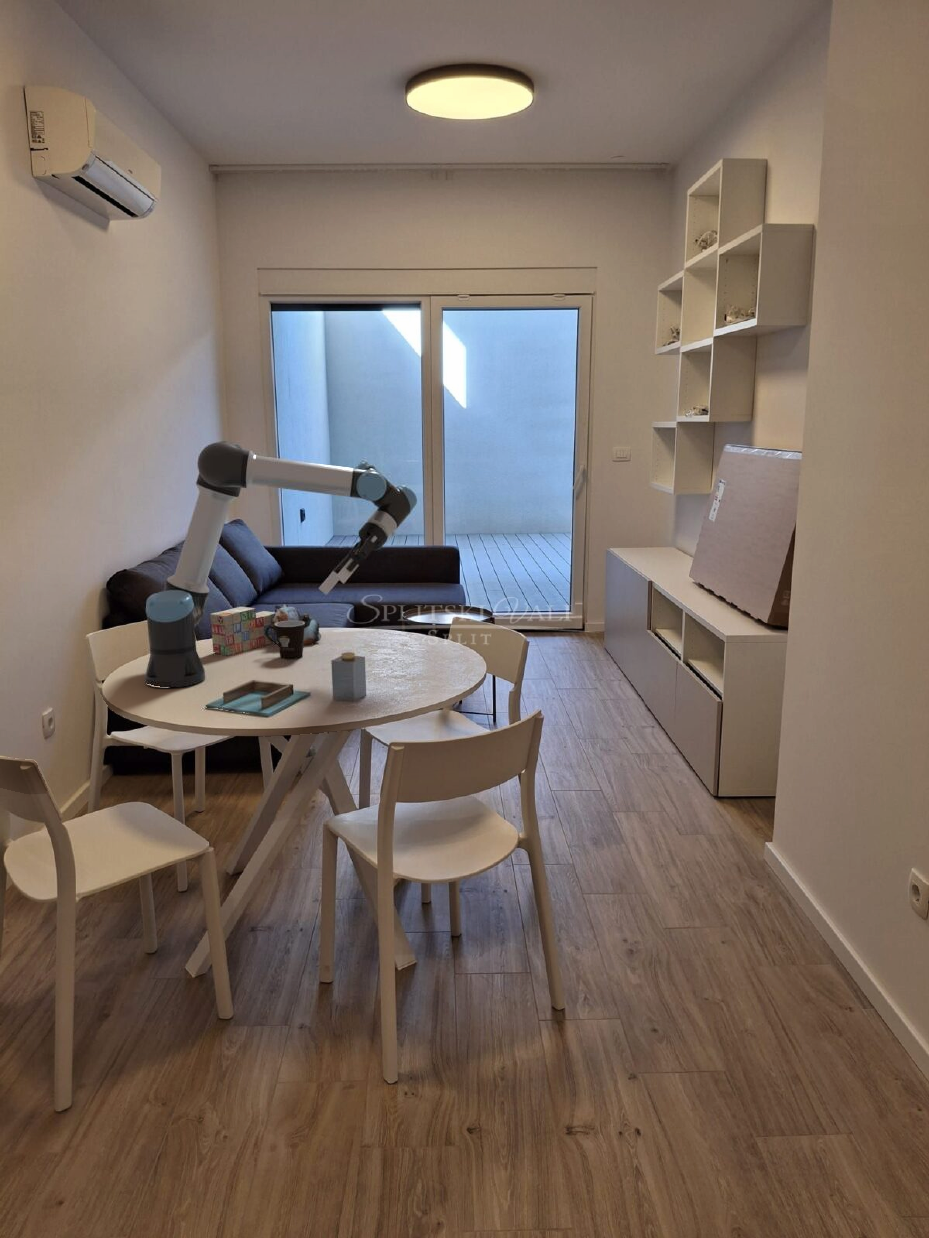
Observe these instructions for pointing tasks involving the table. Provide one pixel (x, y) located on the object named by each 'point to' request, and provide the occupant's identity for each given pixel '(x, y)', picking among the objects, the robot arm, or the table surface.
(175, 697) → the table surface
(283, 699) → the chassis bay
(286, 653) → the coffee mug
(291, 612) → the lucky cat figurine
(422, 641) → the table surface
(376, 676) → the table surface
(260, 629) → the stack of blocks
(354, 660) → the grey block with knob
